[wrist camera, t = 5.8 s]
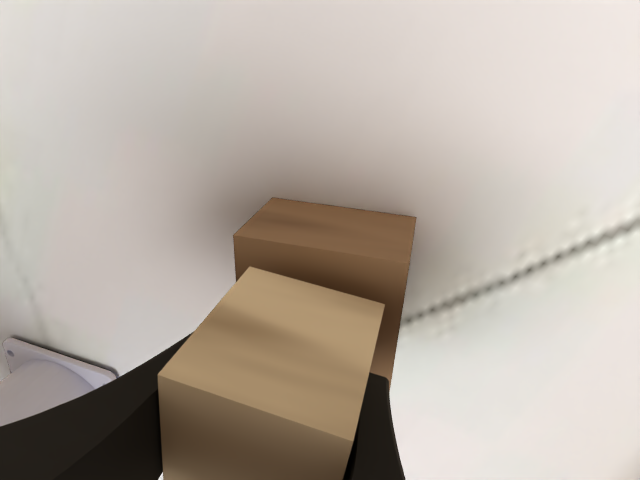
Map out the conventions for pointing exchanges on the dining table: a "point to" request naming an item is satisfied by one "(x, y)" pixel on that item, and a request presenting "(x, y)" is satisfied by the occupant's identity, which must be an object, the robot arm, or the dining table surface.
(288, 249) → the walnut plinth
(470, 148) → the dining table surface
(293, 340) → the beech cube
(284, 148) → the dining table surface
